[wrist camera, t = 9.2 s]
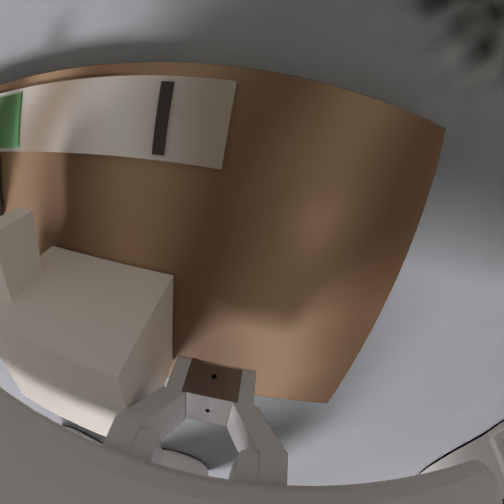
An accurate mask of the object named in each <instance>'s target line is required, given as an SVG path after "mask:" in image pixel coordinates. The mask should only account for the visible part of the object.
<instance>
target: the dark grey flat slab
mask: <svg viewBox="0 0 504 504" xmlns="http://www.w3.org/2000/svg"><path fill="white" fill-rule="evenodd" d="M2 215H4V208H3V200H2V189H1V175H0V216H2Z"/></svg>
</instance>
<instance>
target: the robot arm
mask: <svg viewBox="0 0 504 504" xmlns="http://www.w3.org/2000/svg"><path fill="white" fill-rule="evenodd" d="M255 382H256V370H251V369H245V368H241V367H235V366H229V365H224V364H219V363H212V362H208V361H204V360H200V359H196V358H192V357H188V356H184V355H179V356H178V358H177V360H176V363H175V365H174V368H173V371H172V373H171V376H170V379H169V381H168V384H167V387H163V386H162V387H161V388H159V389H158V390H156V391H155V392H153V393H152V394H150V395H148V396H147V397H145V398H144V399H142V400H141V401H139V402H137V403H136V404H134V405H132V406H131V407H129V408H128V409H126V410H124V411H123V412H121V413H119V414H118V415H116V416H115V418H114V420H113V423H112V425H111V427H110V429H109V432H108V434H107V436H106V438H105V441H104V443H103V444H101V443H98V442H96V441H94V440H91V439H89V438H87V437H85V436H83V435H80V434H78V433H76V432H74V431H72V430H70V429H68V428H66V427H64V426H62V425H60V424H58V423H57V422H55V421H53V420H51V419H49V418H48V417H46V416H44V415H42V414H41V413H39V412H37V411H35V410H34V409H32V408H31V407H29V406H27V405H26V404H24V403H23V402H21V401H20V400H18V399H16V398H15V397H14V396H12V395H11V394H9V393H8V392H6V391H5V390H3V389H2V388H1V387H0V504H504V421H503V422H502V423H500V424H499V425H497V426H496V427H495V428H493V429H492V430H490V431H489V432H488V433H486V434H485V435H483V436H481V437H480V438H478V439H476V440H474V441H472V442H470V443H469V444H467V445H465V446H463V447H461V448H460V449H458V450H456V451H454V452H453V453H451V454H449V455H447V456H446V457H444V458H442V459H441V460H439V461H438V462H436V463H434V464H433V465H431V466H430V467H428V468H427V469H425V470H424V471H423V472H422V473H420V474H419V475H415V476H410V477H405V478H399V479H393V480H387V481H379V482H371V483H362V484H350V485H333V486H290V485H287V469H288V453H287V452H286V450H285V449H284V447H283V446H282V444H281V443H280V441H279V440H278V438H277V437H276V435H275V434H274V432H273V431H272V429H271V428H270V426H269V424H268V423H267V421H266V420H265V418H264V417H263V415H262V413H261V412H260V410H259V409H258V407H257V406H253V403H254V393H255ZM185 418H189V419H194V420H199V421H204V422H208V423H213V424H217V425H222V426H227V429H228V432H229V434H230V436H231V438H232V440H233V442H234V444H235V446H236V449H237V451H238V455H237V457H236V460H235V462H234V464H233V467H232V469H231V471H230V475H229V480H228V479H222V478H216V477H211V476H206V475H201V474H196V473H191V472H187V471H183V470H179V469H175V468H171V467H167V466H164V465H162V463H163V460H164V457H163V453H162V448H161V443H160V440H161V439H162V438H164V437H165V436H166V435H167V434H168V433H170V432H171V431H172V430H173V429H174V428H175V427H177V426H178V425H179V424H180V423H181V422H182V421H184V420H185Z"/></svg>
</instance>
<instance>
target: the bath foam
mask: <svg viewBox="0 0 504 504" xmlns="http://www.w3.org/2000/svg"><path fill="white" fill-rule="evenodd" d="M162 453H163V457H164V460H163V463H162V465H164V466H167V467H171V468H175V469H179V470H183V471H187V472H191V473H196V474H201V475H206V476H208V469H207V467H206V466H205V465H204V464H203V463H202V462H200V461H199V460H197V459H195V458H193V457H190V456H188V455H185V454H182V453H179V452H175V451H171V450H166V449H162Z"/></svg>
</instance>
